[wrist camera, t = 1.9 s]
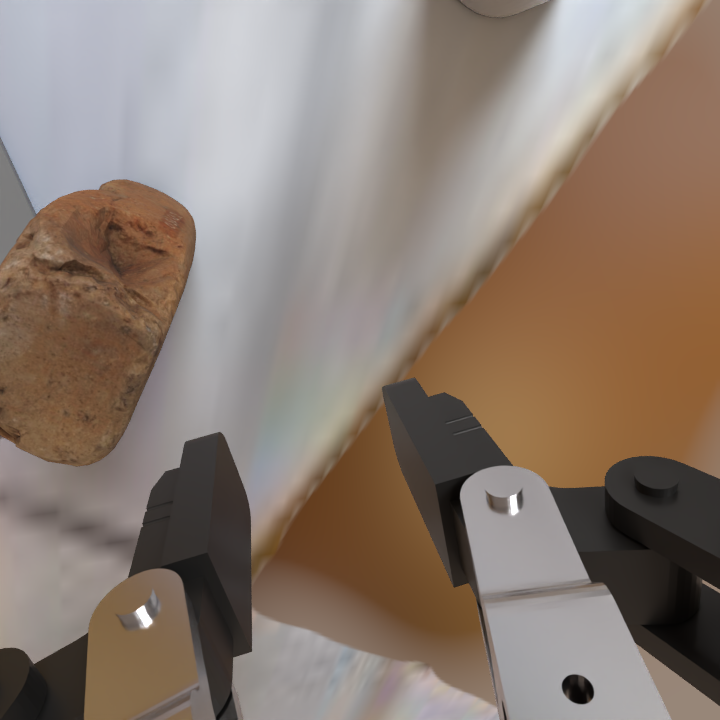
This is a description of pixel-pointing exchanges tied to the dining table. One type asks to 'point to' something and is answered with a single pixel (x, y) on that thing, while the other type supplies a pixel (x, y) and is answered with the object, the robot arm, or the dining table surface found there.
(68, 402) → the sandstone rock
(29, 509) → the dining table surface
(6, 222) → the mat
